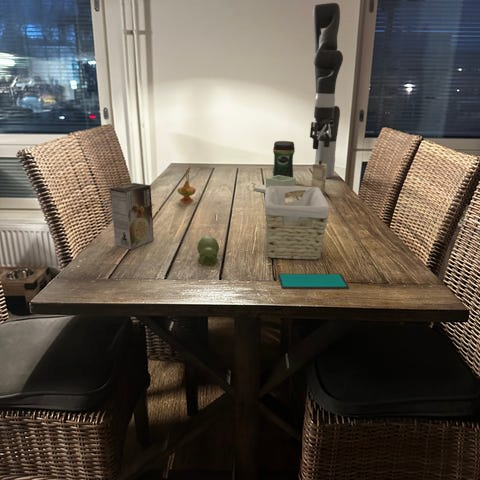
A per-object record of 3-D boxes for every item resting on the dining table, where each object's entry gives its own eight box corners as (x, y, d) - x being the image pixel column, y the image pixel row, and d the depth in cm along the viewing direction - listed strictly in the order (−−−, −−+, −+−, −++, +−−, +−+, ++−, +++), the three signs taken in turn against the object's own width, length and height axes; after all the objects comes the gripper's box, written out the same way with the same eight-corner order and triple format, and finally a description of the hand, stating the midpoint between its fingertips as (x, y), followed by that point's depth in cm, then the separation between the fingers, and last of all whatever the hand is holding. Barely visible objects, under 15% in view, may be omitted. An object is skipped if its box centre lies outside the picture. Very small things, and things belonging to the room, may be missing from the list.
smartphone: (349, 287, 98) (282, 287, 97) (348, 290, 98) (282, 290, 98) (340, 273, 105) (278, 273, 104) (340, 276, 105) (278, 276, 105)
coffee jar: (293, 181, 204) (295, 140, 198) (292, 184, 197) (295, 142, 190) (272, 180, 205) (274, 139, 199) (271, 183, 198) (272, 141, 192)
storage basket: (263, 231, 135) (265, 184, 130) (316, 233, 134) (320, 185, 129) (262, 261, 113) (264, 205, 108) (326, 263, 112) (331, 207, 107)
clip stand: (276, 184, 197) (276, 172, 195) (306, 190, 187) (307, 178, 185) (253, 190, 185) (254, 178, 184) (285, 196, 176) (285, 184, 174)
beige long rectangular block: (316, 191, 185) (318, 159, 181) (324, 193, 183) (327, 160, 178) (311, 193, 183) (313, 160, 178) (319, 194, 180) (322, 161, 176)
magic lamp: (173, 207, 158) (172, 177, 154) (180, 195, 175) (179, 167, 171) (192, 207, 158) (192, 177, 154) (197, 195, 175) (197, 168, 171)
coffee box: (138, 236, 128) (134, 182, 123) (154, 240, 125) (151, 185, 120) (114, 245, 121) (109, 188, 116) (131, 250, 118) (126, 191, 112)
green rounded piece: (218, 232, 115) (220, 252, 107) (218, 250, 118) (219, 271, 109) (197, 232, 115) (197, 252, 106) (197, 250, 118) (197, 271, 109)
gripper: (325, 105, 179) (322, 145, 184) (306, 105, 168) (303, 148, 174) (342, 106, 174) (338, 147, 179) (323, 106, 164) (319, 150, 169)
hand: (321, 148), depth 176 cm, fingers open, 8 cm apart
